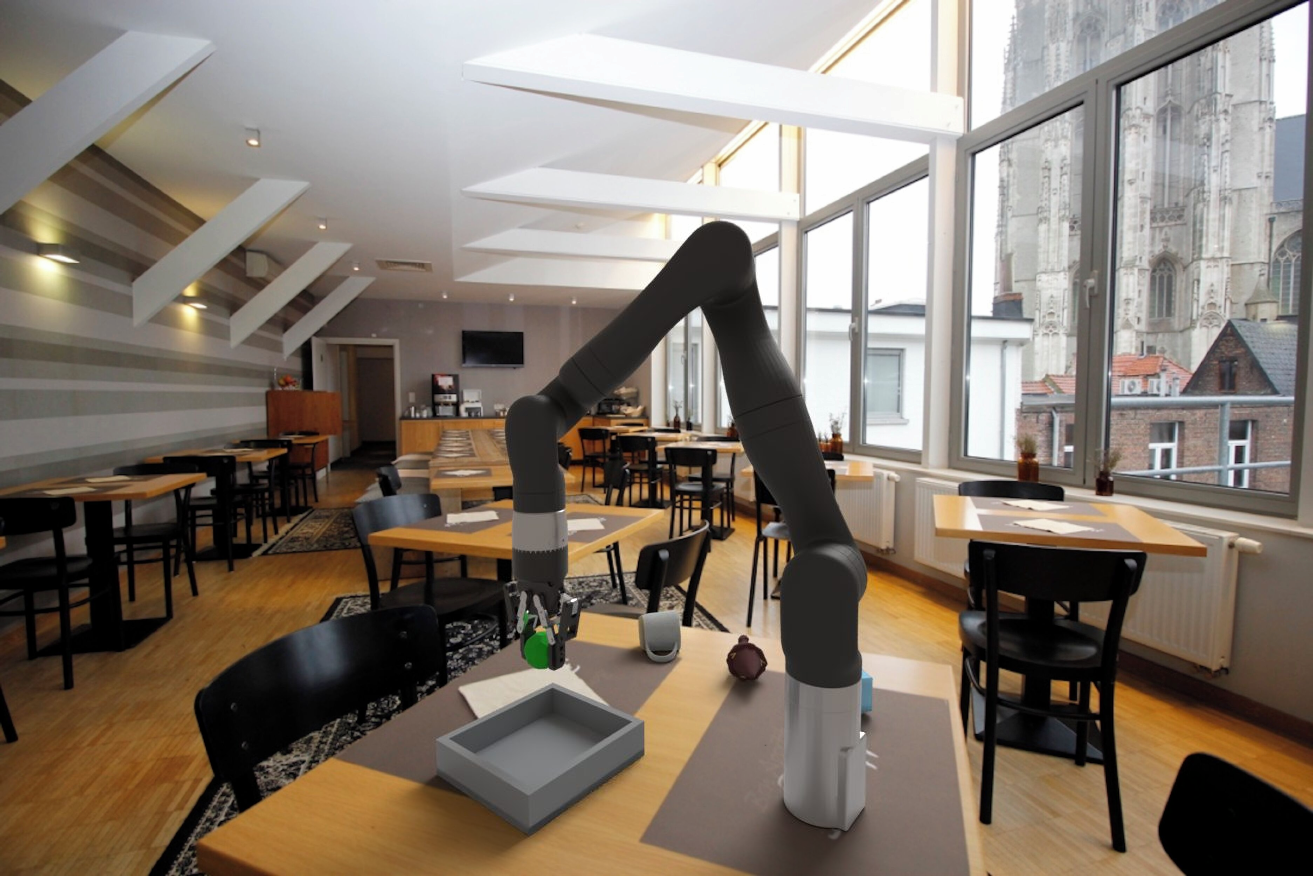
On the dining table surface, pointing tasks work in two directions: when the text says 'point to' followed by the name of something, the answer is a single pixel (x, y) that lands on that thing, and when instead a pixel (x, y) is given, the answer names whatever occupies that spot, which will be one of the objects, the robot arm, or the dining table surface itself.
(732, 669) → the icecream
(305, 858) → the dining table surface
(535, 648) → the polyhedron
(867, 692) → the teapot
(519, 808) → the crate
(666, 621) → the ceramic mug
